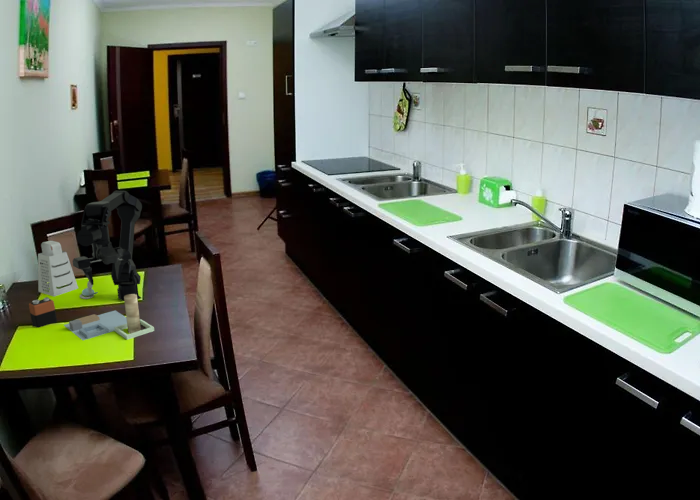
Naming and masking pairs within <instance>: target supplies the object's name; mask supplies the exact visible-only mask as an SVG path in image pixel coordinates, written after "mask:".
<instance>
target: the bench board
mask: <svg viewBox="0 0 700 500" xmlns="http://www.w3.org/2000/svg"><path fill="white" fill-rule="evenodd" d="M124 324H127V318H126V315H123V314H122V313H120V312H118V311H117V310H116V309H115V310H111V311H108V312H105V313H101V314H98V315H97V314H96V313H94V314H90V315H87V316H82V317H79V318H77V319H74V320H73V319H72V320H70V321H69V322H68V323H65V324H63V326H64V327H65V328H67V329H68V330H69V331H71V332H72V333H73V334H74V335H75V336H77V337H78V338H79V339H80V340H82V341H85V340H90V339H92V338H95V337H99V336H103V335H105V334H108V333H111V332H115V329H114V327H117V326H120V325H124Z"/></svg>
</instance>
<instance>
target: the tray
mask: <svg viewBox="0 0 700 500" xmlns="http://www.w3.org/2000/svg"><path fill="white" fill-rule="evenodd" d="M140 326H143V327H145V328H144V329H141V330H140V331H137V332H134V333H126V332H125V331H124V329H128V326H127V324H124V325H120V326H117V327H114V329H115V331H114V332H116V333H117V334H118V335H120V336H121V337H123V338H124V339H126V340H130V339H134V338H137V337H140V336H142V335H147V334H148V333H152V332H155V327H154V326H153V325H152V324H149V323H148V322H147V321H145V320H143V319H141V318H140Z"/></svg>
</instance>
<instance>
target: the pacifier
mask: <svg viewBox="0 0 700 500" xmlns="http://www.w3.org/2000/svg"><path fill="white" fill-rule="evenodd" d="M93 287H94V285H91V283H90V281H89V280H88V281H87V286H86V288H84V289H82V291H81V294H79V298H80V299H84V300H88V299H91V298H94V296H95V295H97V294H98V293H99V292H98V291H96V292H95V290H94V289H93Z"/></svg>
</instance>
